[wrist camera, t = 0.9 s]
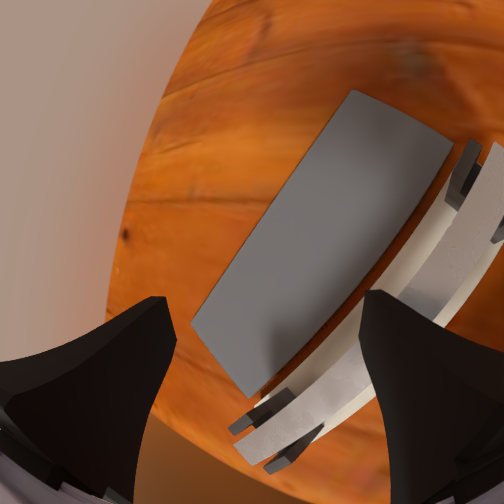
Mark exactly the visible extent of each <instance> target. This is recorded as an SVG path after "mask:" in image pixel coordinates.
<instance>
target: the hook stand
mask: <svg viewBox="0 0 504 504" xmlns="http://www.w3.org/2000/svg"><path fill="white" fill-rule="evenodd" d="M481 149H482V145H480V144H479V143H477V142H476V141H475V140H473V139H472V138H470V139H469V141H468V143H467V145H466V147H465V149H464V151H463V152H462V154H461V156H460V158H459V160H458V161H457V163H456V165H455V167H454V169H453V170H452V172H451V174H450V176H449V177H448V179H447V181H446V183H445V184H444V186H443V188H442V189H441V191H440V192H439V194H438V196H437V197H436V199H435V200H434V202H433V204H432V205H431V207H430V208H429V210H428V211H427V213H426V214H425V216H424V217H423V219H422V220H421V222H420V223H419V225H418V226H417V228H416V229H415V231H414V232H413V234H412V235H411V236H410V238H409V239H408V241H407V242H406V243H405V245H404V246H403V247H402V249H401V250H400V252H399V253H398V254H397V256H396V257H395V258H394V260H393V261H392V262H391V263H390V265H389V266H388V267H387V269H386V270H385V271H384V272H383V274H382V275H381V276H380V278H379V279H378V280H377V281H376V282H375V284H374V285H373V286H372V287H371V289H370V290H376V289H381V290H383V291H385V292H387V293H389V294H390V295H392V296H394V297H395V298H397V297H398V295H399V294H400V293H401V292H402V290H403V289H404V288H405V287H406V285H407V284H408V283H409V282H410V280H411V279H412V278H413V277H414V275H415V274H416V273H417V271H418V270H419V269H420V267H421V266H422V265H423V263H424V262H425V261H426V259H427V258H428V256H429V255H430V254H431V252H432V251H433V249H434V248H435V246H436V245H437V244H438V242H439V241H440V239H441V238H442V236H443V235H444V233H445V232H446V230H447V228H448V227H449V225H450V224H451V222H452V221H453V219H454V217H455V216H456V214H457V213H458V211H459V209H460V208H461V206H462V204H463V202H464V201H465V199H466V197H467V195H468V194H469V192H470V190H471V188H472V186H473V185H474V183H475V181H476V179H477V177H478V175H479V173H480V171H481V169H482V167H483V166H481V165H480V164H479V163H477V162H476V161H477V159H478V156H479V154H480V151H481ZM503 242H504V216H503V218H502V220H501V222H500V223H499V225H498V227H497V229H496V231H495V233H494V234H493V236H492V238H491V240H490V241H489V243H488V245H487V246H486V248H485V250H484V251H483V253H482V255H481V256H480V258H479V259H478V261H477V262H476V264H475V265H474V267H473V268H472V270H471V271H470V273H469V274H468V276H467V277H466V279H465V280H464V281H463V283H462V284H461V286H460V287H459V288H458V290H457V291H456V292H455V294H454V295H453V296H452V298H451V299H450V300H449V302H448V303H447V304H446V305H445V307H444V308H443V309H442V310H441V312H440V313H439V314H438V315H437V317H436V318H435V319H434V320H433V322H435V323H436V324H438V325H440V326H441V327H443V328H444V327H445V326H446V325H447V324H448V322H449V321H450V320H451V319H452V318H453V316H454V315H455V314H456V313H457V311H458V310H459V309H460V307H461V306H462V305H463V304H464V302H465V301H466V300H467V298H468V297H469V295H470V294H471V293H472V291H473V290H474V289H475V287H476V286H477V284H478V283H479V281H480V280H481V278H482V277H483V275H484V274H485V272H486V271H487V269H488V268H489V266H490V264H491V263H492V261H493V260H494V258H495V256H496V255H497V253H498V251H499V250H500V248H501V246H502V244H503ZM363 303H364V297H363V298H362V299H361V300H360V302H359V303H358V304H357V305H356V306H355V307H354V309H353V310H352V311H351V312H350V313H349V314H348V315H347V316H346V318H345V319H344V320H343V321H342V322H341V323H340V324H339V325H338V326H337V327H336V329H335V330H334V331H333V332H332V333H331V334H330V335H329V336H328V337H327V338H326V339H325V340H324V341H323V342H322V343H321V344H320V345H319V346H318V347H317V348H316V349H315V350H314V352H313V353H312V354H311V355H310V356H308V357H307V358H306V359H305V360H304V361H303V362H302V363H301V364H300V365H299V366H298V367H297V368H296V369H295V370H294V371H293V372H292V373H291V374H290V375H289V376H288V377H287V378H286V379H284V380H283V381H282V382H281V383H280V384H279V385H278V386H277V387H276V388H275V389H273V390H272V391H271V392H270V393H269V394H268V395H267V396H265V397H264V398H263V399H262V400H261V401H260V402H259V403H257V404H256V405H255V406H254V407H255V408H254V409H252V410H251V411H249V412H247V413H246V414H244V415H243V416H242V417H241V418H239V419H238V420H237V421H236V422H234V423H233V424H232V425H231V426H229V427H228V429H229V430H230V431H231V433H232V434H233V435H234V436H235V435H237V434H238V433H240V432H242V431H243V430H245V429H246V428H248V427H249V426H251V425H253V426H254V427H255V429H257V428H258V427H260V426H261V425H262V424H264V423H265V422H266V421H268V420H269V419H270V418H272V417H273V416H274V415H276V414H277V413H278V412H279V411H281V410H282V409H283V408H285V407H286V406H287V405H288V404H290V403H291V402H292V401H293V400H294V399H296V398H297V397H298V396H299V395H300V394H302V393H303V392H304V391H305V390H306V389H307V388H309V387H310V386H311V385H312V384H313V383H314V382H315V381H317V380H318V379H319V378H320V377H321V376H322V375H323V374H324V373H325V372H326V371H328V370H329V369H330V368H331V367H332V366H333V365H334V364H335V363H336V362H337V361H338V360H339V359H340V358H341V357H342V356H343V355H344V354H345V353H346V352H347V351H348V350H349V349H350V348H351V347H352V346H353V345H354V344H355V343H356V342H357V341H358V340H359V337H358V334H359V328H360V322H361V316H362V310H363ZM375 396H376V393H375V390H374V387H373V385H372V383H371V384H370V385H369V386H368V387H367V388H366V389H365V390H363V391H362V392H361V393H360V394H359V395H357V396H356V397H355V398H354V399H353V400H351V401H350V402H349V403H348V404H346V405H345V406H344V407H343V408H341V409H340V410H339V411H337V412H336V413H335V414H333V415H332V416H331V417H329V418H328V419H327V420H325V421H324V422H323V423H321V424H320V425H318V426H317V427H315V428H314V429H313V430H311V431H310V432H308V433H307V434H305V435H304V436H302V437H301V438H299V439H298V440H296V441H294V442H293V443H291V444H290V445H288V446H286V447H285V448H283V449H281V450H280V451H278V452H277V453H278V454H277V455H276V456H275V457H274V458H273V459H272V460H271V461H269V462H268V463H267V464H266V465H265V466H264V467H263V468H264V469H265V470H266V471H267V472H268V473H269V475H271V474H273V473H275V472H277V471H279V470H281V469H283V468H285V467H287V466H289V465H290V464H292V463H293V462H294V461H295V460H296V459H297V458H298V457H299V455H300V454H301V453H302V452H303V451H304V450H305V449H306V448H307V447H308V445H309V444H310V443H312V442H313V441H315V440H316V439H318V438H320V437H321V436H323V435H324V434H326V433H327V432H328V431H330V430H331V429H333V428H334V427H336V426H337V425H339V424H340V423H341V422H343V421H344V420H345V419H347V418H348V417H349V416H351V415H352V414H353V413H355V412H356V411H357V410H359V409H360V408H361V407H362V406H364V405H365V404H366V403H367V402H369V401H370V400H371V399H372V398H374V397H375Z"/></svg>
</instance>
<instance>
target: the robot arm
mask: <svg viewBox="0 0 504 504" xmlns="http://www.w3.org/2000/svg"><path fill="white" fill-rule="evenodd" d="M358 337H359V342H360V347H361V351H362V356H363V359H364V362H365V365H366V368H367V371H368V373H369V376H370V379H371V382H372V385H373V387H374V390H375V393H376V396H377V399H378V402H379V405H380V408H381V412H382V416H383V421H384V426H385V432H386V438H387V445H388V453H389V463H390V479H391V504H504V352H500V351H497V350H494V349H491V348H488V347H485V346H482V345H480V344H477V343H475V342H472V341H470V340H467V339H465V338H463V337H461V336H459V335H457V334H455V333H453V332H451V331H449V330H447V329H445V328H443V327H441V326H440V325H438V324H436V323H435V322H433V321H431V320H429V319H428V318H426V317H425V316H423V315H421V314H420V313H418V312H417V311H415V310H414V309H412V308H410V307H409V306H407V305H406V304H404V303H403V302H401V301H400V300H398V299H397V298H395V297H394V296H392V295H390V294H389V293H387V292H385V291H383V290H381V289H376V290H365V295H364V303H363V310H362V316H361V322H360V328H359V334H358ZM176 342H177V338H176V334H175V331H174V327H173V324H172V320H171V316H170V312H169V308H168V304H167V300H166V297H163V296H151V297H149V298H146V299H144V300H143V301H141V302H139V303H137V304H136V305H134V306H132V307H131V308H129V309H127V310H126V311H124V312H123V313H121V314H119V315H118V316H116V317H114V318H113V319H111V320H110V321H108V322H106V323H104V324H103V325H101V326H99V327H97V328H96V329H94V330H92V331H91V332H89V333H87V334H85V335H83V336H81V337H79V338H77V339H75V340H73V341H71V342H68V343H66V344H64V345H62V346H59V347H56V348H53V349H51V350H48V351H45V352H42V353H39V354H36V355H33V356H29V357H25V358H20V359H16V360H11V361H4V362H0V429H1V430H0V504H110V503H107V502H105V501H102V500H100V499H103V500H106V501H108V502H111V503H113V504H133V495H134V484H135V475H136V468H137V462H138V456H139V450H140V446H141V441H142V437H143V433H144V430H145V426H146V422H147V419H148V415H149V413H150V410H151V407H152V405H153V402H154V400H155V398H156V395H157V393H158V391H159V389H160V386H161V384H162V382H163V379H164V377H165V375H166V372H167V370H168V368H169V365H170V363H171V360H172V357H173V353H174V350H175V346H176ZM92 495H93V496H95V497H93V496H92ZM96 497H97V498H96ZM98 498H100V499H98Z"/></svg>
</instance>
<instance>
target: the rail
mask: <svg viewBox="0 0 504 504" xmlns="http://www.w3.org/2000/svg"><path fill="white" fill-rule="evenodd" d="M503 216H504V148H503V147H502V146H500V145H499V144H498V143H496V142H495V141H494V144H493V146H492V148H491V150H490V152H489V155H488V157H487V159H486V161H485V163H484V165H483V167H482V169H481V171H480V173H479V175H478V177H477V179H476V181H475V183H474V185H473V186H472V188H471V190H470V192H469V194H468V195H467V197H466V199H465V201H464V202H463V204H462V206H461V208H460V209H459V211H458V213H457V214H456V216H455V217H454V219H453V221H452V222H451V224H450V225H449V227H448V228H447V230H446V232H445V233H444V235H443V236H442V238H441V239H440V241H439V242H438V244H437V245H436V246H435V248H434V249H433V251H432V252H431V254H430V255H429V256H428V258H427V259H426V261H425V262H424V263H423V265H422V266H421V267H420V269H419V270H418V271H417V273H416V274H415V275H414V277H413V278H412V279H411V280H410V282H409V283H408V284H407V285H406V287H405V288H404V289H403V290H402V292H401V293H400V294H399V295H398V297H397V299H398V300H400V301H401V302H403V303H404V304H406V305H407V306H409V307H410V308H412V309H414V310H415V311H417V312H418V313H420V314H421V315H423V316H425V317H426V318H428V319H429V320H431V321H433V320H434V319H435V318H436V317H437V315H438V314H439V313H440V312H441V310H442V309H443V308H444V307H445V305H446V304H447V303H448V302H449V300H450V299H451V298H452V296H453V295H454V294H455V292H456V291H457V290H458V288H459V287H460V286H461V284H462V283H463V281H464V280H465V279H466V277H467V276H468V274H469V273H470V271H471V270H472V268H473V267H474V265H475V264H476V262H477V261H478V259H479V258H480V256H481V255H482V253H483V251H484V250H485V248H486V246H487V245H488V243H489V241H490V240H491V238H492V236H493V234H494V233H495V231H496V229H497V227H498V225H499V223H500V222H501V220H502V218H503ZM371 383H372V382H371V379H370V376H369V373H368V371H367V368H366V365H365V362H364V359H363V356H362V351H361V347H360V342H359V340H358V341H357V342H356V343H355V344H354V345H353V346H352V347H351V348H350V349H349V350H348V351H347V352H346V353H345V354H344V355H343V356H342V357H341V358H340V359H339V360H338V361H337V362H336V363H335V364H334V365H333V366H332V367H331V368H330V369H329V370H328V371H326V372H325V373H324V374H323V375H322V376H321V377H320V378H319V379H318V380H317V381H315V382H314V383H313V384H312V385H311V386H310V387H309V388H307V389H306V390H305V391H304V392H303V393H302V394H300V395H299V396H298V397H297V398H296V399H294V400H293V401H292V402H291V403H290V404H288V405H287V406H286V407H285V408H283V409H282V410H281V411H279V412H278V413H277V414H276V415H274V416H273V417H272V418H270V419H269V420H268V421H266V422H265V423H264V424H262V425H261V426H260V427H258V428H257V429H255V430H254V431H253V432H251V433H250V434H248V435H247V436H246V437H244V438H243V439H241V440H240V441H238V442H237V443H235V444H234V445H233V446H234V447H235V448H236V449H237V450H238V451H239V452H240V454H241V455H242V456H243V457H244V458H245V459H246V460H247V461H248V462H249V463H250V465H251V466H253V465H255V464H257V463H259V462H261V461H262V460H264V459H266V458H268V457H269V456H271V455H273V454H275V453H276V452H278V451H280V450H281V449H283V448H285V447H286V446H288V445H290V444H291V443H293V442H294V441H296V440H298V439H299V438H301V437H302V436H304V435H305V434H307V433H308V432H310V431H311V430H313V429H314V428H315V427H317V426H318V425H320V424H321V423H323V422H324V421H325V420H327V419H328V418H329V417H331V416H332V415H333V414H335V413H336V412H337V411H339V410H340V409H341V408H343V407H344V406H345V405H346V404H348V403H349V402H350V401H351V400H353V399H354V398H355V397H356V396H357V395H359V394H360V393H361V392H362V391H363V390H365V389H366V388H367V387H368V386H369V385H370V384H371Z"/></svg>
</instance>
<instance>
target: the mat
mask: <svg viewBox="0 0 504 504" xmlns="http://www.w3.org/2000/svg"><path fill="white" fill-rule="evenodd" d="M453 145H454V143H453V142H452V141H450V140H449V139H447V138H446V137H444V136H443V135H441V134H439V133H438V132H436V131H435V130H433V129H431V128H430V127H428V126H426V125H425V124H423V123H421V122H419V121H418V120H416V119H414V118H412V117H410V116H409V115H407V114H405V113H403V112H401V111H399V110H397V109H395V108H393V107H391V106H389V105H387V104H385V103H383V102H381V101H379V100H377V99H374V98H372V97H370V96H368V95H365V94H363V93H361V92H359V91H356V90H354V89H352V90H351V92H350V93H349V94H348V96H347V97H346V99H345V100H344V101H343V103H342V104H341V106H340V107H339V108H338V110H337V111H336V113H335V114H334V115H333V117H332V118H331V120H330V121H329V122H328V124H327V125H326V127H325V128H324V130H323V131H322V132H321V134H320V135H319V137H318V138H317V139H316V141H315V142H314V144H313V145H312V147H311V148H310V149H309V151H308V152H307V154H306V155H305V157H304V158H303V159H302V161H301V162H300V164H299V165H298V167H297V168H296V169H295V171H294V172H293V174H292V175H291V177H290V178H289V179H288V181H287V182H286V184H285V185H284V187H283V188H282V190H281V191H280V192H279V194H278V195H277V197H276V198H275V200H274V201H273V203H272V204H271V205H270V207H269V208H268V210H267V211H266V213H265V214H264V216H263V217H262V218H261V220H260V221H259V223H258V224H257V226H256V227H255V229H254V230H253V232H252V233H251V235H250V236H249V237H248V239H247V240H246V242H245V243H244V245H243V246H242V248H241V249H240V251H239V252H238V254H237V255H236V256H235V258H234V259H233V261H232V262H231V264H230V265H229V267H228V268H227V270H226V271H225V273H224V274H223V276H222V277H221V279H220V280H219V282H218V283H217V285H216V286H215V287H214V289H213V290H212V292H211V293H210V295H209V296H208V298H207V299H206V301H205V302H204V304H203V305H202V307H201V308H200V310H199V311H198V313H197V314H196V316H195V317H194V319H193V320H192V322H191V323H190V324H191V326H192V327H193V329H194V330H195V331H196V333H197V334H198V336H199V337H200V338H201V340H202V341H203V342H204V344H205V345H206V346H207V348H208V349H209V350H210V352H211V353H212V354H213V356H214V357H215V358H216V360H217V361H218V362H219V364H220V365H221V366H222V367H223V369H224V370H225V371H226V373H227V374H228V375H229V376H230V378H231V379H232V380H233V381H234V383H235V384H236V385H237V386H238V387H239V389H240V390H241V391H242V392H243V393H244V395H245V396H246V397H247V398H248V399H249V398H250V397H252V396H253V395H254V394H255V393H256V392H258V391H259V390H260V389H261V388H262V387H263V386H264V385H265V384H266V383H267V382H268V381H269V380H271V379H272V378H273V377H274V376H275V375H276V374H277V373H278V372H279V371H280V370H281V369H282V368H283V367H284V366H285V365H286V364H287V363H288V362H289V361H290V360H291V359H292V358H293V357H294V356H295V355H296V354H297V353H298V352H299V351H300V350H301V349H302V348H303V347H304V346H305V345H306V344H307V343H308V342H309V341H310V340H311V339H312V338H313V336H314V335H315V334H316V333H317V332H318V331H319V330H320V329H321V328H322V327H323V326H324V325H325V324H326V322H327V321H328V320H329V319H330V318H331V317H332V316H333V315H334V313H335V312H336V311H337V310H338V309H339V308H340V307H341V305H342V304H343V303H344V302H345V301H346V300H347V298H348V297H349V296H350V295H351V294H352V293H353V291H354V290H355V289H356V288H357V287H358V285H359V284H360V283H361V282H362V280H363V279H364V278H365V277H366V275H367V274H368V273H369V272H370V270H371V269H372V268H373V267H374V265H375V264H376V263H377V261H378V260H379V259H380V258H381V256H382V255H383V254H384V252H385V251H386V250H387V248H388V247H389V246H390V244H391V243H392V242H393V240H394V239H395V237H396V236H397V235H398V233H399V232H400V230H401V229H402V228H403V226H404V225H405V223H406V222H407V220H408V219H409V218H410V216H411V215H412V213H413V212H414V210H415V209H416V207H417V206H418V204H419V203H420V201H421V200H422V198H423V196H424V195H425V193H426V192H427V190H428V189H429V187H430V185H431V184H432V182H433V181H434V179H435V177H436V176H437V174H438V172H439V171H440V169H441V167H442V165H443V164H444V162H445V160H446V159H447V157H448V155H449V153H450V151H451V150H452V148H453Z"/></svg>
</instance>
